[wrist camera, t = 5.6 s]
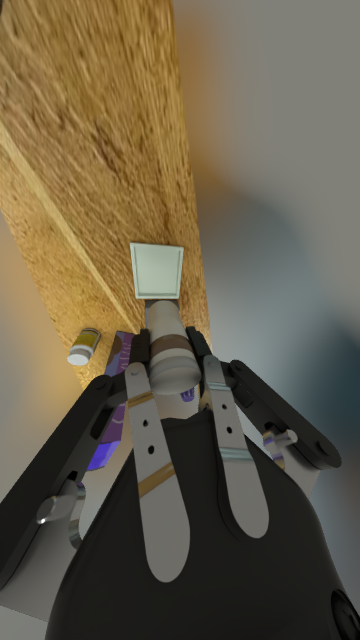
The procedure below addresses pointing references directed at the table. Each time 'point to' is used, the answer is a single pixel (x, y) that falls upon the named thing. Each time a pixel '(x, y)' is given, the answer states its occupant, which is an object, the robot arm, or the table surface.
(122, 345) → the cereal box
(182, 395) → the toy lamp
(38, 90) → the table surface
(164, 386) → the cylinder
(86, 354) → the supplement bottle
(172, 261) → the pale green flat frame
